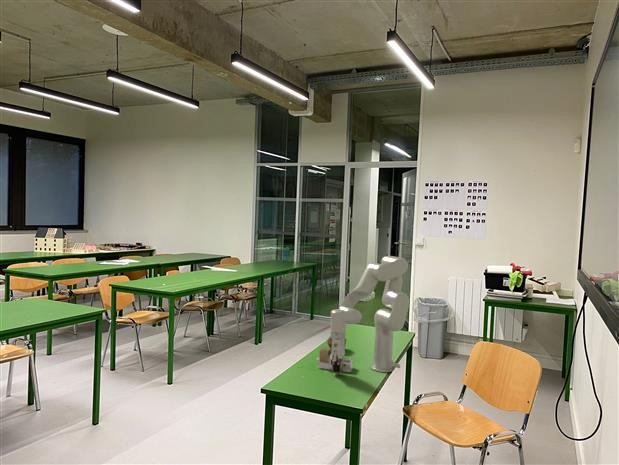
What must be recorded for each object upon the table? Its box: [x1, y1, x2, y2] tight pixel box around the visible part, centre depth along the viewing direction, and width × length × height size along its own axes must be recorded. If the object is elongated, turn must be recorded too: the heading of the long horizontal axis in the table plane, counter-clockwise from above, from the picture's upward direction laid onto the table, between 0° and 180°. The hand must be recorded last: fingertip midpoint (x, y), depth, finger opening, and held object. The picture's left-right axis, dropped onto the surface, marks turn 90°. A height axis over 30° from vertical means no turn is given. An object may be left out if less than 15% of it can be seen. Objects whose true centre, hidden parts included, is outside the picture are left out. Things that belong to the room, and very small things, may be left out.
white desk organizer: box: [317, 347, 354, 373], centre depth 231 cm, size 17×8×9 cm, turn 73°
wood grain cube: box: [331, 358, 344, 374], centre depth 220 cm, size 5×5×6 cm
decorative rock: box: [326, 335, 347, 349], centre depth 262 cm, size 13×11×10 cm
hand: (337, 369), depth 220 cm, fingers closed on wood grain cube, 4 cm apart
